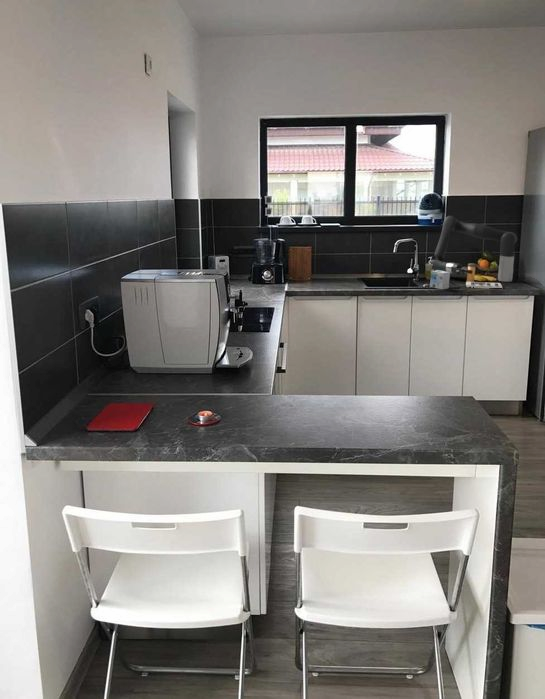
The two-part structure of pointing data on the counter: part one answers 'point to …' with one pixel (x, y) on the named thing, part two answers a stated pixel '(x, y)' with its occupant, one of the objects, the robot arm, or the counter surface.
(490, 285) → the breaker board
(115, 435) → the counter surface
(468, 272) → the robot arm
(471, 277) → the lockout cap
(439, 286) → the light bulb box
